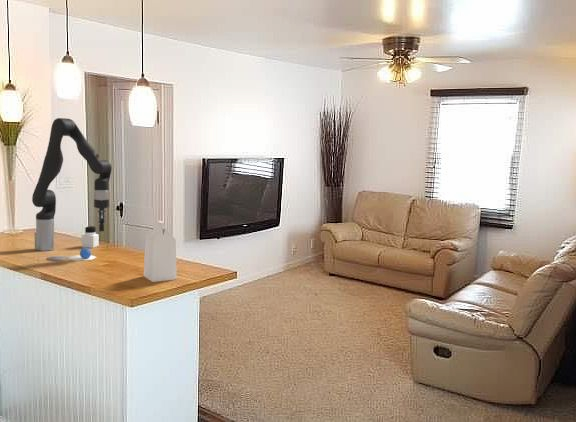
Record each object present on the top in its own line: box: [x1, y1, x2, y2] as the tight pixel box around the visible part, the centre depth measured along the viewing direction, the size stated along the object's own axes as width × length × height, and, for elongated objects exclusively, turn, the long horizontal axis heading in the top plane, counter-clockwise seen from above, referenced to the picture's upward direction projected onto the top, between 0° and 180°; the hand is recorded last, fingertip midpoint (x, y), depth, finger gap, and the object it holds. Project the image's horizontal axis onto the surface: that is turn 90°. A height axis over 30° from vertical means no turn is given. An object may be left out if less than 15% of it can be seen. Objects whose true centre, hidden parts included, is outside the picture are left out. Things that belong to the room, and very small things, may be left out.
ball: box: [79, 248, 92, 259], centre depth 289 cm, size 6×6×6 cm
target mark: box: [66, 254, 97, 262], centre depth 291 cm, size 14×14×1 cm
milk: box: [143, 220, 178, 283], centre depth 253 cm, size 12×12×26 cm
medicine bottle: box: [81, 225, 100, 249], centre depth 321 cm, size 7×7×12 cm
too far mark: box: [46, 255, 68, 262], centre depth 287 cm, size 10×10×1 cm
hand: (101, 231), depth 293 cm, fingers closed
